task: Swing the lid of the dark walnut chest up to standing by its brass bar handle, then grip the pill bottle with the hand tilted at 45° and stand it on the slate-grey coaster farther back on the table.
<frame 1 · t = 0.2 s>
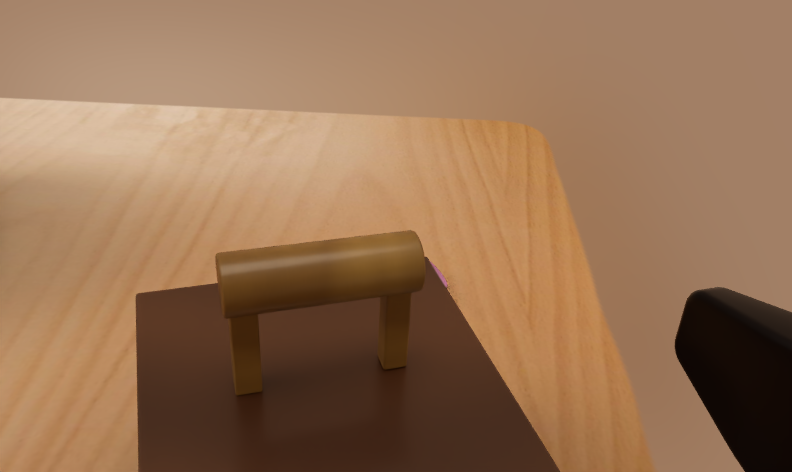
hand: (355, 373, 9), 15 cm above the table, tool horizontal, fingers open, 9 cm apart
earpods: (422, 292, 35), on the table
lid: (336, 367, 18), point 8 cm above the table, hinge at 0.0°
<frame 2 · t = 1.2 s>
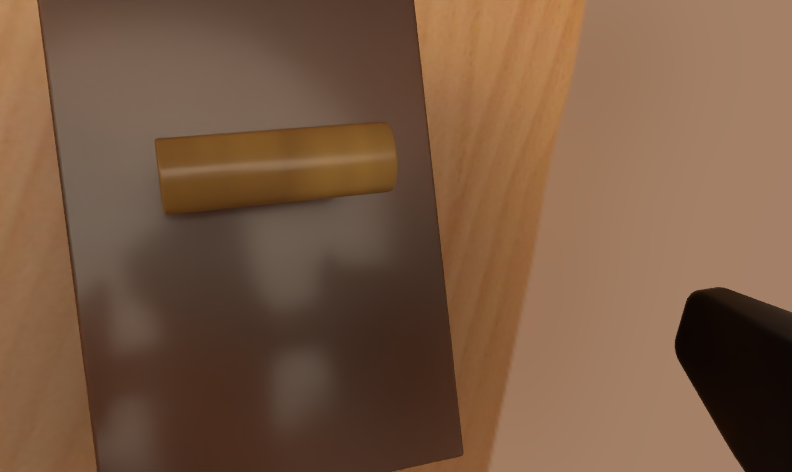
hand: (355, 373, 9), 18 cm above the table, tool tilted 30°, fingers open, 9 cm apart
lid: (277, 243, 18), point 8 cm above the table, hinge at 0.0°
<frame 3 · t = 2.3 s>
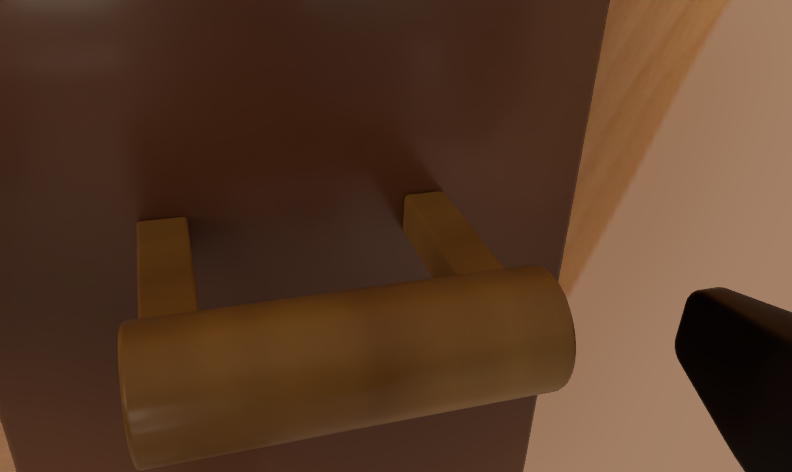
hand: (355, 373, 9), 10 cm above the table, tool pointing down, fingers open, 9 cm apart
lid: (323, 378, 11), point 8 cm above the table, hinge at 0.0°
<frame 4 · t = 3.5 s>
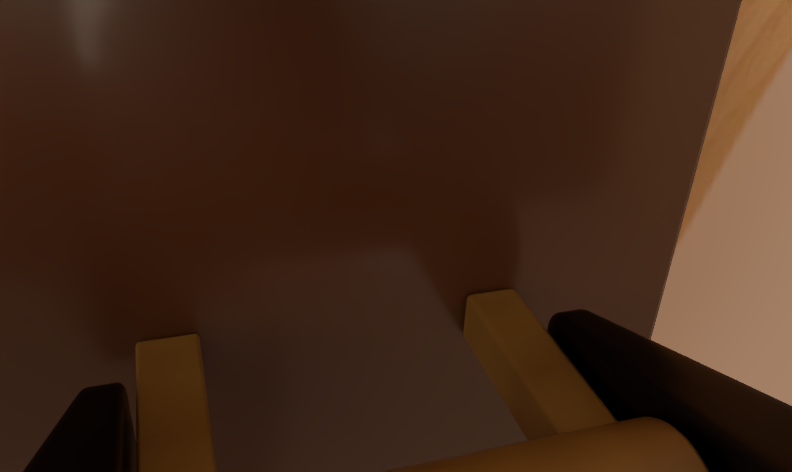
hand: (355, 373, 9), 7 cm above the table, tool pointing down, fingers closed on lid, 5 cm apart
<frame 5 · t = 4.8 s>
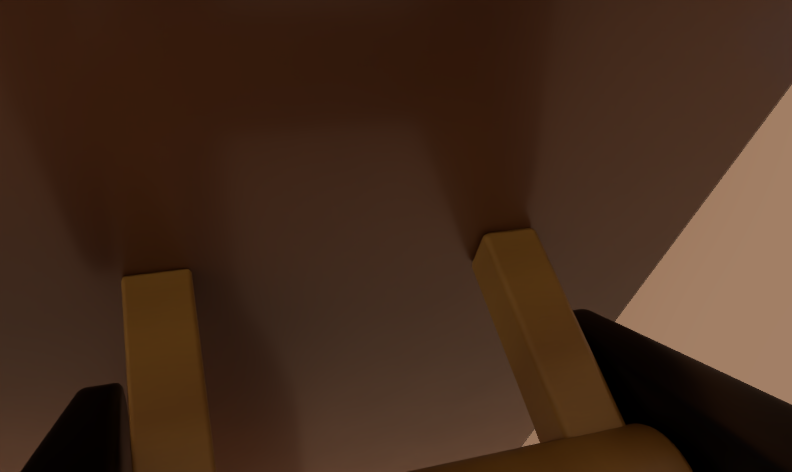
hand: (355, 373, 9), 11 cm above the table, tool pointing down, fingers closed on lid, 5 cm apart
lid: (357, 458, 9), point 11 cm above the table, hinge at 24.4°, touching gripper
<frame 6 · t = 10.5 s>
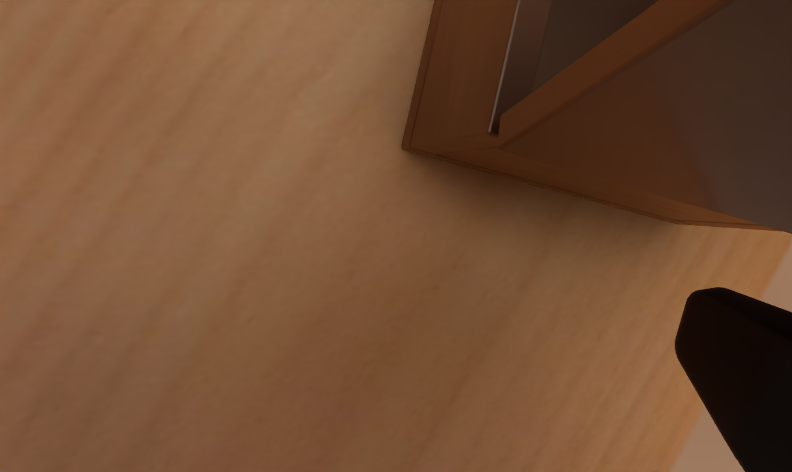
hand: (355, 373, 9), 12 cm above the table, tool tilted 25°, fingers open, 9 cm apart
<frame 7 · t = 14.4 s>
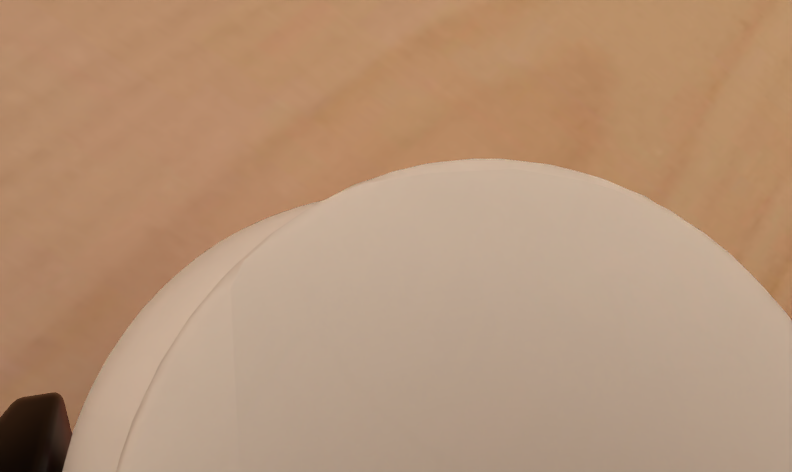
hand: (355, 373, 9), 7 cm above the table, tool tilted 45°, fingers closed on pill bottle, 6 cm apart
when the fingers open (7 cm above the table, at t = 20.7 s): pill bottle stays where it is, resting on coaster.
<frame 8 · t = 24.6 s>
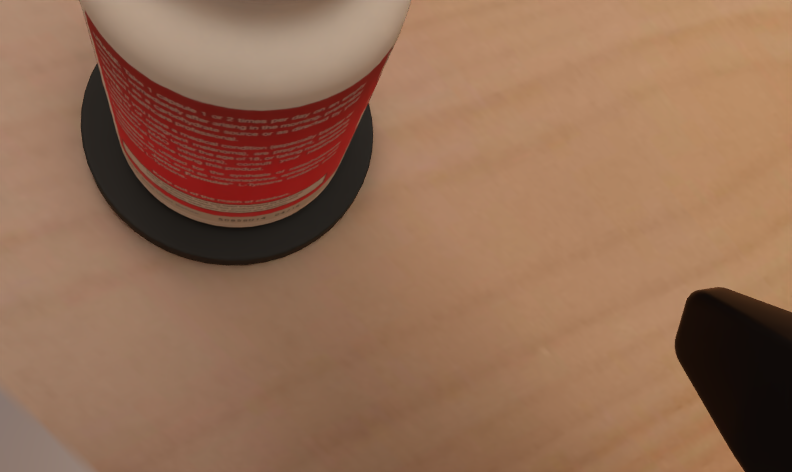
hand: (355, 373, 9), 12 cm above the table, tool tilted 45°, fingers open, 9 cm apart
coaster: (233, 130, 21), on the table
pill bottle: (234, 129, 21), resting on coaster
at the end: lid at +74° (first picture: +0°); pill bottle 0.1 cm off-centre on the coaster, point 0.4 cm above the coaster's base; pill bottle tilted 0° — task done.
